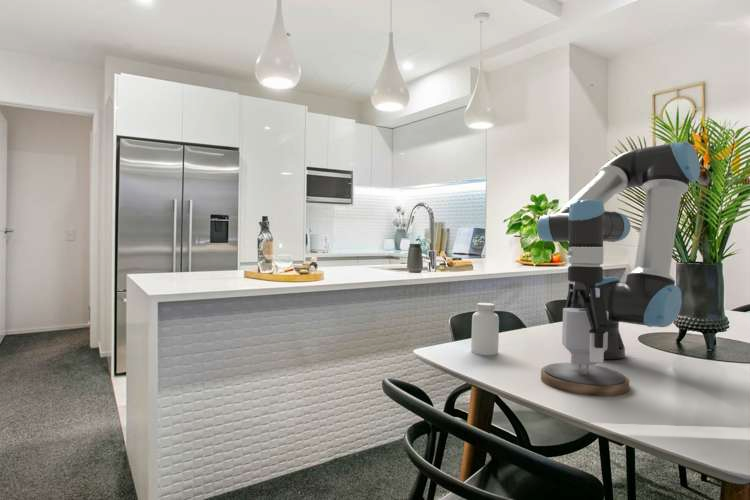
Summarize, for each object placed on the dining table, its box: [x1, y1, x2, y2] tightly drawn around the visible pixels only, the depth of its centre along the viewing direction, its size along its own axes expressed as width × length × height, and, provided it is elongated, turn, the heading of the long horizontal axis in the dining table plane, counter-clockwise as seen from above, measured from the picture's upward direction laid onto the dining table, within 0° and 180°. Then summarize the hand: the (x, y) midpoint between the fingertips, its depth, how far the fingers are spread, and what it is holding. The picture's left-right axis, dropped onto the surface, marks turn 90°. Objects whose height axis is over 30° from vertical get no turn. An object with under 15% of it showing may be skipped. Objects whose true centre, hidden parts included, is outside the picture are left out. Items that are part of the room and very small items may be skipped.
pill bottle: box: [470, 302, 500, 356], centre depth 135 cm, size 8×8×15 cm
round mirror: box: [540, 362, 630, 397], centre depth 106 cm, size 19×19×2 cm
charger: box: [561, 307, 608, 372], centre depth 105 cm, size 5×9×15 cm, turn 81°
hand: (583, 354), depth 106 cm, fingers open, 13 cm apart
